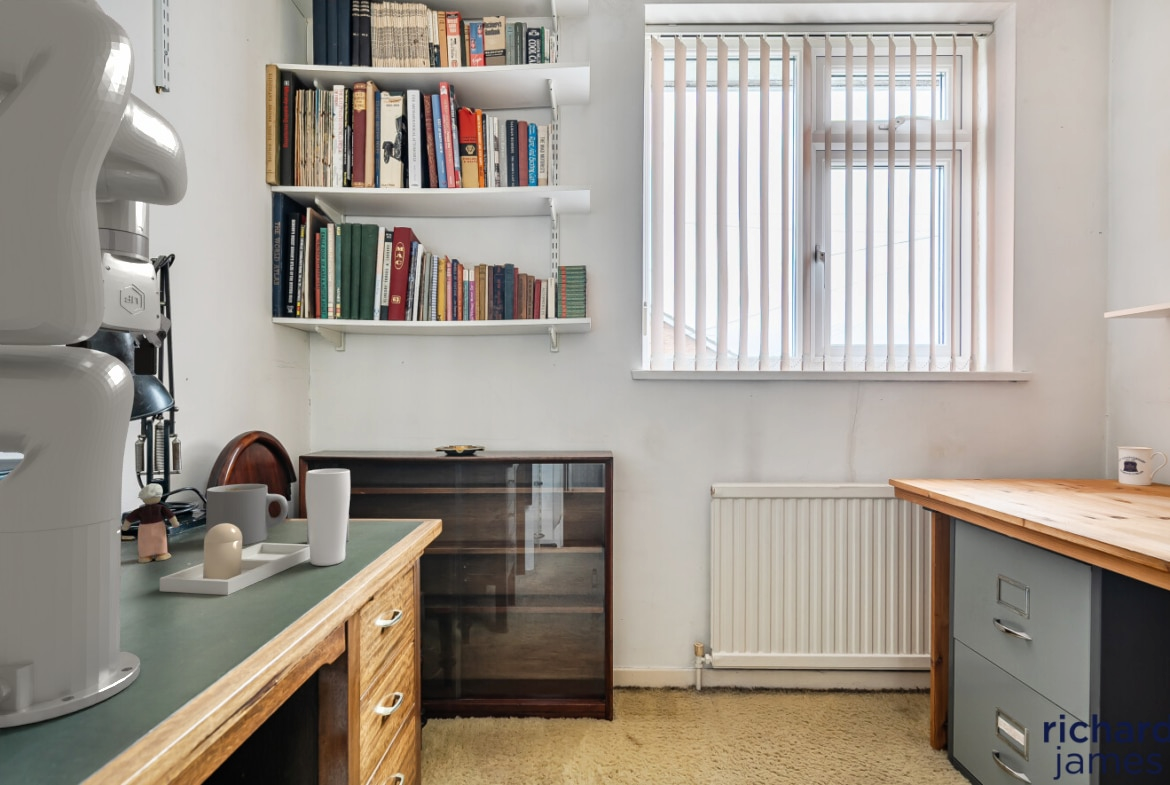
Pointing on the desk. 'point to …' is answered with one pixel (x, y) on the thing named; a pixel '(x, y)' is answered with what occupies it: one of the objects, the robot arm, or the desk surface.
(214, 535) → the beige domed cylinder
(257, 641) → the desk surface
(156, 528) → the grandmother figurine
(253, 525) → the coffee mug
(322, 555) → the drinking glass
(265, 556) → the white divided tray
